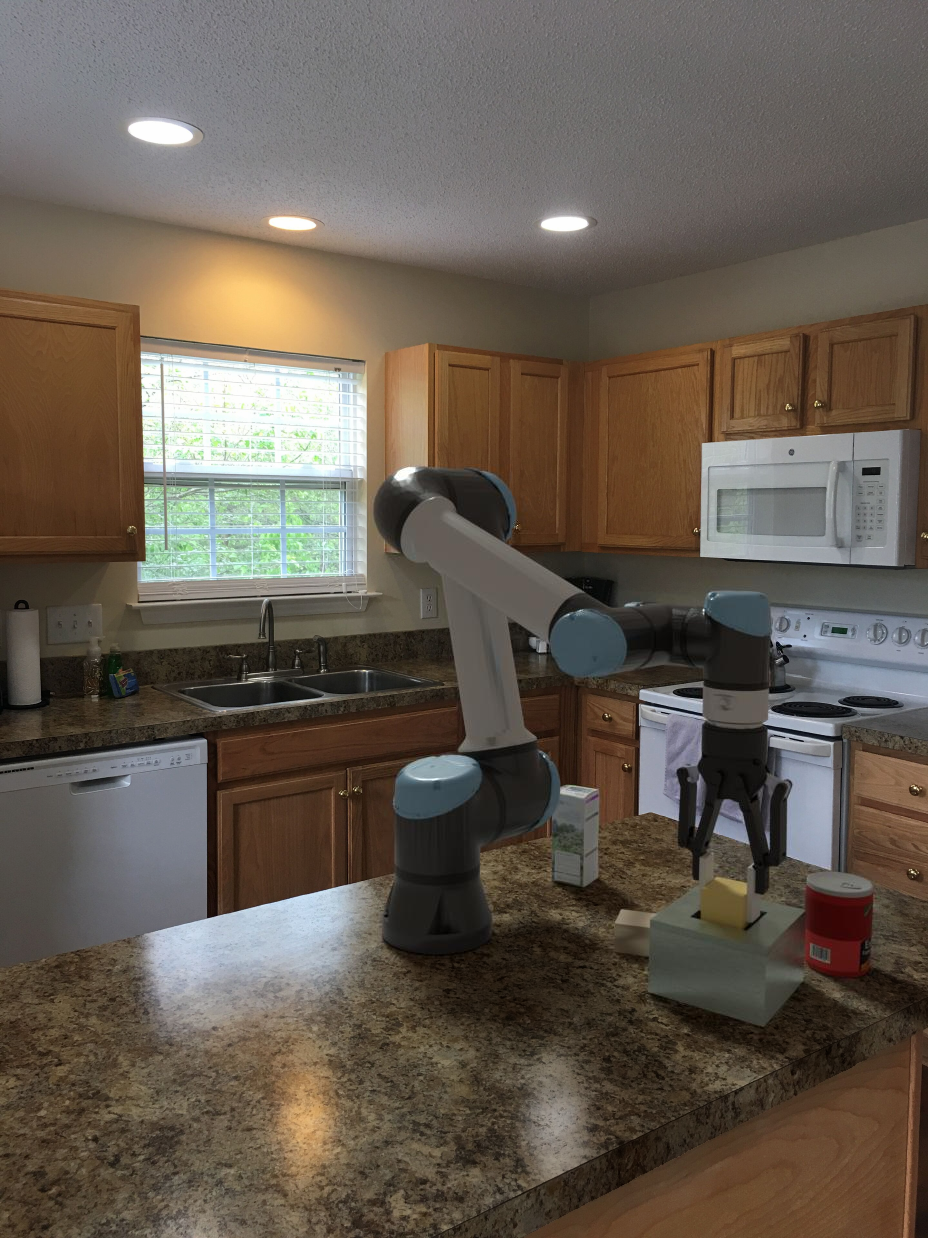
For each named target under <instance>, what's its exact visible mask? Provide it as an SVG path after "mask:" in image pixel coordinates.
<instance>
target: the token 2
mask: <svg viewBox="0 0 928 1238" xmlns="http://www.w3.org/2000/svg"><path fill="white" fill-rule="evenodd" d="M746 897H747V882H744V881H740V880H739V881H738V880H734V879H729V878H726V877H725V878H724V877H719V876H716V877H714V879H713V880H712V881H711V882H709V883H708V884H707V885H705V886H704V887H703V888H701V920H704V921H708V922H712V923H716V924H720V925H724V926H728V927H732V928H736V929H740V930H743V929H744V928H745V927H746V926H747V925H748V924H749V923H751V922H746Z"/></svg>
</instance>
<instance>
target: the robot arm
mask: <svg viewBox="0 0 928 1238" xmlns="http://www.w3.org/2000/svg"><path fill="white" fill-rule="evenodd" d="M372 509H373V510H372V512H373V513H372V514H373V521H374V524H375V526H376V529H377V531H378V533H379V534H380V536H381V538H382V539H383V540H384V541H385V542H386V543H387V544H388V546H390V547H391V548H393V550H395V551H396V552H398V553H399V554H400V555H402V556H404V557H405V558H406V559H408V560H409V561H412V562H413V563H417V564H421V563H422V564H423V563H427V564H429V567H430V568H431V569H433V570H435V571H436V572H437V573H438V574H439V575H440V576H441V581H442V589H443V595H444V601H445V608H446V613H447V614H446V615H447V620H448V626H449V633H450V639H451V640H450V641H451V646H452V653H453V657H454V658H453V660H454V666H455V671H456V677H457V683H458V691H459V697H460V703H461V709H462V716H463V717H462V718H463V721H464V729H465V735H466V736H465V739H464V740H463V742H462V743H461V744H460V746H459V747H458V749H457V752H458V754H443V755H440V756H433V755H432V756H429V757H424V758H420V759H417V760H415V761H413V762H410V763H407V765H405V766H404V767H403V768H402V769H400V771H399V772H398V774H397V775H396V778H395V782H394V783H395V784H394V785H395V786H394V795H393V799H392V807H393V819H394V820H393V823H394V825H393V827H394V836H393V837H394V878H393V881H392V884H391V887H390V891H389V893H388V897H387V899H386V902H385V907H384V910H383V912H382V915H381V917H382V918H381V935H382V937H383V939H384V940H385V942H387V943H388V944H389V945H391V946H393V947H394V948H398V949H400V950H402V951H406V952H410V953H415V954H422V955H450V954H452V955H453V954H457V953H458V954H459V953H463V952H467V951H472V950H474V949H476V948H479V947H481V946H482V945H484V944H485V943H487V942H488V941H489V940H490V939H491V938H492V935H493V928H494V927H493V925H494V924H493V922H494V920H493V914H492V911H491V909H490V907H489V904H488V899H487V895H486V892H485V889H484V886H483V882H482V879H481V847H482V848H483V847H484V846H487V845H490V844H493V843H496V842H499V841H503V840H505V839H508V838H512V837H514V836H522V835H525V834H527V833H530V832H531V831H534V830H535V829H536V828H539V827H541V826H543V825H544V824H546V823H547V822H548V821H549V820H550V819H551V818H552V814H553V813H554V812H555V810H556V808H557V805H558V802H559V798H560V787H561V779H560V774H559V771H558V768H557V766H556V764H555V763H554V761H551V760H550V757H549V755H548V754H547V753H545V752H544V751H542V750H540V749H539V743H538V739H537V736H536V735H534V734H533V733H532V732H530V731H529V730H528V729H527V727H525V723H524V716H523V711H522V710H523V709H522V704H521V697H520V691H519V684H518V678H517V672H516V666H515V660H514V654H513V648H512V640H511V635H510V629H509V623H508V622H509V621H508V618H510V619H511V620H513V621H514V622H516V623H517V624H518V625H519V626H522V628H524V629H525V630H527V631H529V632H530V633H532V635H535V636H536V637H538V638H539V639H541V640H542V641H544V642H545V643H547V644H548V645H549V647H550V652H551V656H552V658H553V659H554V660H555V662H556V664H557V666H558V668H559V670H561V671H562V672H563V673H565V674H567V675H569V676H571V677H574V678H593V679H594V678H596V679H597V678H601V677H607V676H608V675H609V676H610V675H612V674H618V673H623V672H628V671H633V670H640V669H646V668H651V667H658V666H662V665H663V666H678V667H689V668H693V669H702V676H703V678H702V679H703V680H702V682H703V683H702V684H703V685H702V711H701V712H702V717H703V718H704V719H705V721H704V722H703V723H702V724H701V744H700V746H701V747H700V749H701V757H700V759H699V760H698V762H697V763H696V764H690V763H687V764H685V765H682V766H681V767H679V768H677V769H676V773H675V775H676V776H677V777H676V778H677V780H678V783H679V807H678V827H677V845H678V847H680V848H685V849H686V850H688V851H689V852H690V853H691V855H692V864H691V865H692V871H691V875H692V879H693V881H698V886H699V900H698V910H701V888H703V887H704V886H705V885H707V884H708V883H709V882H711V881H712V880H714V879H715V877H714V874H715V873H714V872H715V871H714V870H715V868H714V867H715V852H711V851H708V850H709V849H711V846H710V843H711V840H712V838H713V834H714V830H715V827H716V824H717V821H718V818H719V815H720V812H721V807H722V804H723V803H724V801H725V800H730V801H733V802H735V803H738V807H739V810H740V812H742V816H743V821H744V825H745V829H746V834H747V838H748V844H749V848H750V852H751V857H752V860H753V863H751V864H750V865H749V866H748V867H747V868H746V869H747V870H746V871H747V872H746V879H747V880H746V883H747V897H746V922H751V923H752V922H753V921H755V920H756V919H757V918H758V917H759V916H760V900H762V899H761V898H762V896H764V895H765V894H766V893H767V892H768V890H769V888H770V868H771V867H776V868H777V867H778V866H780V865H781V864H782V863H784V862H785V861H786V859H787V856H788V855H787V853H788V852H787V849H788V847H787V845H788V839H787V838H788V837H787V836H788V799H789V796H790V794H791V792H792V789H793V785H794V784H793V782H792V780H790V779H789V778H786V779H782V778H779V777H777V776H775V775H773V774H772V773H771V770H770V769H769V766H768V762H767V760H768V759H767V757H768V735H769V733H768V732H769V731H768V730H769V728H768V727H767V726H766V724H764V723H765V722H767V721H768V720H769V704H770V703H769V702H770V697H769V696H770V695H769V694H770V680H769V676H770V663H771V661H770V660H771V659H770V657H771V641H772V639H771V638H772V634H773V628H772V611H771V607H772V606H771V605H772V603H771V599H770V598H769V596H768V595H767V594H765V593H763V592H759V591H754V590H753V591H752V590H751V591H749V590H713V591H712V590H711V591H709V592H708V593H707V594H706V596H705V600H704V604H703V605H685V604H676V603H675V604H674V603H673V604H672V603H663V602H661V603H660V602H657V601H651V600H649V601H633V602H632V601H631V602H628V603H626V604H624V605H623V606H621V607H610V606H608V605H606V604H604V603H603V602H601V601H599V600H598V599H596V598H594V597H592V596H591V595H589V594H588V593H586V592H585V591H584V590H582V589H580V588H578V587H577V586H575V585H573V584H572V583H570V582H569V581H567V580H566V579H564V578H562V577H561V576H559V575H558V574H555V573H554V572H552V571H551V570H549V569H547V568H546V567H544V566H543V565H542V564H539V562H536V561H534V560H533V559H531V558H530V557H528V556H526V555H525V554H523V553H522V552H520V551H518V550H517V549H515V548H514V547H512V546H510V545H509V544H507V542H508V540H509V539H510V538H511V536H512V535H513V532H514V531H513V528H514V527H515V526H516V523H517V507H516V502H515V499H514V496H513V493H512V491H511V490H510V489H509V487H508V486H507V484H506V483H505V482H504V481H503V480H502V479H501V478H499V477H498V476H497V475H496V474H494V473H492V472H489V471H485V470H479V469H475V468H472V467H471V468H470V467H465V468H456V467H454V468H452V467H451V468H450V467H449V468H448V467H433V466H431V467H429V466H421V465H419V466H418V465H414V466H413V465H412V466H407V467H403V468H402V469H399V470H396V471H395V472H394V473H391V474H390V475H389V476H388V477H386V478H385V480H384V481H383V482H382V483H381V485H380V486H379V488H378V490H377V492H376V493H375V497H374V501H373V508H372ZM700 776H701V778H702V779H703V781H704V783H705V784H706V786H707V788H708V789H707V793H706V796H705V799H704V807H703V809H702V812H701V815H700V820H699V823H698V825H697V829H696V824H697V823H696V822H697V821H696V820H697V802H698V801H697V798H698V782H699V780H700ZM765 785H766V786H767V788H768V790H767V792H768V793H767V794H768V795H769V796H770V802H769V843H768V839H767V834H766V830H765V826H764V822H763V821H764V820H763V816H762V812H761V807H760V805H761V801H760V796H759V791H760V790H761V789H762V788H763V787H764V786H765Z"/></svg>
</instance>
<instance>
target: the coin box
mask: <svg viewBox="0 0 928 1238" xmlns="http://www.w3.org/2000/svg"><path fill="white" fill-rule="evenodd" d="M698 900H699V884H698V885H695V886H694V887H693V888H691V889H689V890H688V891H687V892H686V893H685V894H683V895H681V896H680V897H679V898H678V899H676V900H674V901H673V902H672V903H671V904H669V905H668V906H666V907H665V908H664V909H663V910H661V911H659V912H658V913H656V914H657V915H655V916H654V917H653V918H651V919H650V942H649V957H648V987H647V988H648V989H647V990H648V991H647V993H649V994H653V995H656V996H660V997H662V998H666V999H670V1000H674V1001H676V1002H680V1003H683V1004H686V1005H690V1006H693V1007H696V1008H700V1009H703V1010H706V1011H708V1012H711V1013H716V1014H719V1015H723V1016H727V1017H730V1018H732V1019H736V1020H739V1021H743V1022H746V1023H749V1024H753V1025H756V1026H759V1027H763V1028H764V1027H766V1025H767V1024H768V1023H769V1022H770V1020H771V1019H772V1018H773V1017H774V1016H775V1015H776V1013H777V1012H778V1011H779V1010H780V1009H781V1007H783V1005H784V1004H785V1003H786V1002H787V1001H788V999H790V997H791V996H792V995H793V993H794V992H796V990H797V988H799V987H800V986H801V984H802V983H803V982H804V967H805V966H804V965H805V958H804V945H805V919H806V910H805V908H804V909H802V908H799V907H794V906H790V905H785V904H781V903H776V902H773V901H769V900H764V899H761V900H760V916H759V917H758V918H757V919H756V920H755V921H753V922H752V923H749V924H748V925H747V926H746V927H745V928H744V929H743V930H740V929H736V928H732V927H728V926H724V925H720V924H716V923H712V922H708V921H704V920H701V910H698Z"/></svg>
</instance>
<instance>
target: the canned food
mask: <svg viewBox="0 0 928 1238" xmlns="http://www.w3.org/2000/svg"><path fill="white" fill-rule="evenodd" d="M874 890H875V889H874V884H873V883H872V882H871V881H870V880H868V879H866V878H864V877H861V876H859V875H855V874H851V873H846V872H841V871H818V872H813V873H811V874H808V875H807V876H806V882H805V897H804V898H805V899H804V900H805V902H804V904H805V905H804V910H806V919H805V945H804V962H805V964H806V965H807V966H808V967H809V968H811V969H812V970H814V971H816V972H818V973H821V974H822V975H825V976H831V977H835V978H845V979H847V978H848V979H849V978H850V979H851V978H853V979H854V978H859V977H863V976H864V975H866V974H867V973H868V972H869V969H870V966H871V955H872V936H873V935H872V934H873V916H874V914H873V913H874V893H875V892H874Z"/></svg>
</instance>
